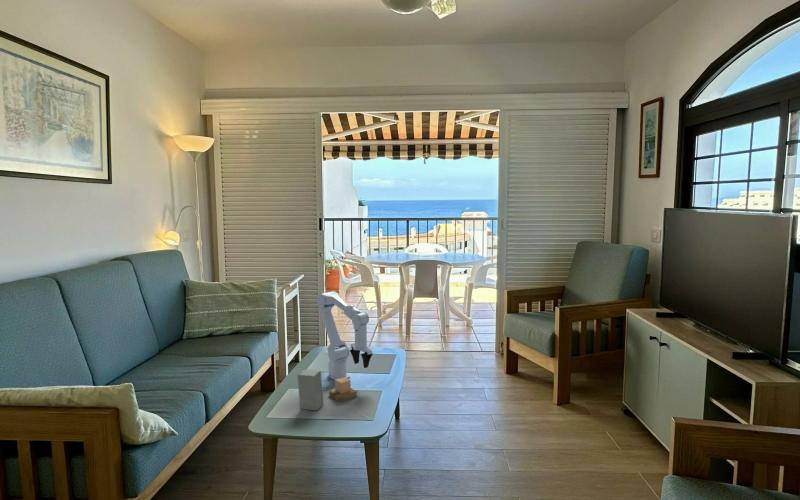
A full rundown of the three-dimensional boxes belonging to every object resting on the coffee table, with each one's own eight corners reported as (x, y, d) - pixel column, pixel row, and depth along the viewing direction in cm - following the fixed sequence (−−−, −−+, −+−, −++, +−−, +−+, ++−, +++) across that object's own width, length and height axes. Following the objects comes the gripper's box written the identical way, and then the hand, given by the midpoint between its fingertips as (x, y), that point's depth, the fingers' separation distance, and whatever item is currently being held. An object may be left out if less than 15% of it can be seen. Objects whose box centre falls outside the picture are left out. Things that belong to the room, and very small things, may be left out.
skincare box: (323, 405, 200) (322, 370, 199) (315, 412, 194) (314, 375, 192) (306, 402, 203) (305, 367, 202) (298, 409, 196) (296, 373, 195)
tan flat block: (329, 396, 210) (329, 390, 210) (345, 391, 216) (345, 385, 216) (340, 402, 204) (340, 396, 203) (356, 397, 210) (356, 391, 209)
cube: (335, 390, 210) (335, 379, 210) (344, 387, 213) (344, 377, 213) (341, 393, 206) (341, 383, 206) (350, 390, 210) (350, 380, 209)
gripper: (345, 336, 223) (345, 363, 224) (363, 342, 212) (363, 371, 214) (356, 333, 228) (357, 360, 229) (375, 339, 217) (375, 367, 218)
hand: (361, 365), depth 222 cm, fingers open, 7 cm apart
